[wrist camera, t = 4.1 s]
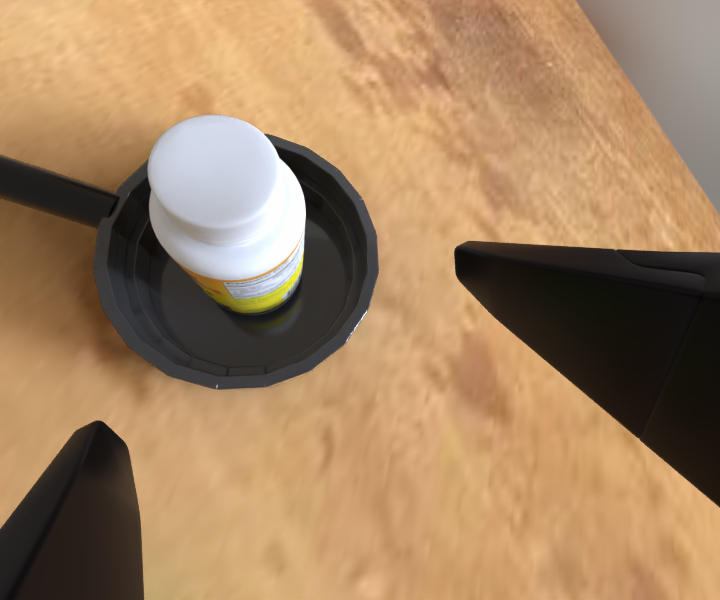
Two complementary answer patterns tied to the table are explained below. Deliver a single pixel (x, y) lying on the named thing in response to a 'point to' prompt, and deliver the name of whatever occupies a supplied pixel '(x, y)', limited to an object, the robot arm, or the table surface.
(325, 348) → the skillet
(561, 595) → the table surface
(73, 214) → the skillet handle
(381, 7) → the table surface
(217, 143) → the supplement bottle
